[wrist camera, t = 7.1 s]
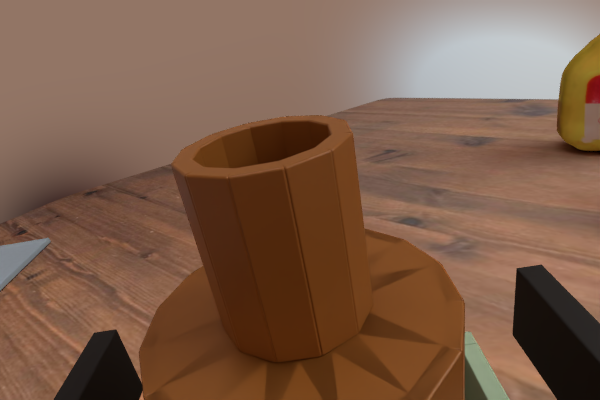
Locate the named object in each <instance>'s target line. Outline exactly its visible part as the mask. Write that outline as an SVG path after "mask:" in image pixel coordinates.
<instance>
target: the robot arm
mask: <svg viewBox="0 0 600 400" xmlns="http://www.w3.org/2000/svg"><path fill="white" fill-rule="evenodd" d="M513 336H514V337H515V339H516V340H517V342H518V343H519V345H520V346H521V347H522V349H523V350H524V352H525V353H526V355H527V356H528V358H529V359H530V361H531V362H532V363H533V365H534V366H535V368H536V369H537V371H538V372H539V374H540V375H541V377H542V378H543V379H544V381H545V382H546V384H547V385H548V387H549V388H550V390H551V391H552V393H553V394H554V395H555V397H556V398H557V400H600V323H599V322H598V321H597V320H596V319H595V318H594V317H593V316H592V315H591V314H590V313H589V312H588V311H587V310H586V309H585V308H584V307H583V306H582V305H581V304H580V303H579V302H578V301H577V300H576V299H575V298H574V297H573V296H572V295H571V294H570V293H569V292H568V291H567V290H566V289H565V288H564V287H563V286H562V285H561V284H560V283H559V282H558V281H557V280H556V279H555V278H554V277H553V276H552V275H551V274H550V273H549V272H548V271H547V270H546V269H545V268H544V267H543V266H542V265H536V266H530V267H523V268H517V273H516V289H515V305H514V320H513ZM142 391H143V388H142V383H141V381H140V379H139V377H138V375H137V373H136V370H135V368H134V366H133V364H132V362H131V360H130V358H129V356H128V353H127V351H126V349H125V347H124V345H123V343H122V341H121V339H120V336H119V334H118V332H117V330H110V331H103V332H97V333H94V334H93V336H92V337H91V339H90V340H89V342H88V344H87V345H86V347H85V349H84V350H83V352H82V354H81V355H80V357H79V359H78V360H77V362H76V364H75V365H74V367H73V369H72V370H71V372H70V373H69V375H68V377H67V378H66V380H65V382H64V383H63V385H62V387H61V388H60V390H59V392H58V393H57V395H56V397H55V398H54V400H139V398H140V396H141V393H142Z"/></svg>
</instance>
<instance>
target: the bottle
mask: <svg viewBox="0 0 600 400" xmlns="http://www.w3.org/2000/svg"><path fill="white" fill-rule="evenodd" d="M557 131H558V133H559V135H560V136H561V137H562V139H563V140H564V141H565V142H567V143H568V144H570V145H572V146H574V147H576V148H577V149H579V150H584V151H600V34H599V35H598V36H597V37H596V38H594V39H593V40H592V41H590V42H589V44H587V45H586V46H585V47H584V48H583V49H582V50H581V51H580V52H579V53H578V54H576V55H575V56H574V58H573V59H572V60H571V61H570V62H569V64H568V65H567V67H566V68H565V70H564V72H563V74H562V78H561V84H560V93H559V101H558V115H557Z"/></svg>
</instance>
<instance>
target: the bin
mask: <svg viewBox="0 0 600 400" xmlns="http://www.w3.org/2000/svg"><path fill="white" fill-rule="evenodd" d="M465 400H509V398H508V396H507V394H506V393H505V391H504V389H503V387H502V386H501V384H500V382H499V380H498V379H497V377H496V375H495V373H494V372H493V370H492V368H491V366H490V365H489V363H488V361H487V359H486V357H485V356H484V354H483V352H482V350H481V349H480V347H479V345H478V344H477V342H476V341H475V339H474V337H473V335H472V334H471V332H465Z"/></svg>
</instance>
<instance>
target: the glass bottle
mask: <svg viewBox="0 0 600 400" xmlns="http://www.w3.org/2000/svg"><path fill="white" fill-rule="evenodd" d="M171 167H172V170H173V173H174V177H175V180H176V183H177V186H178V189H179V192H180V195H181V198H182V201H183V204H184V207H185V210H186V213H187V217H188V220H189V223H190V226H191V229H192V232H193V235H194V238H195V241H196V244H197V247H198V250H199V253H200V257H201V260H202V263H203V266H202V267H201V268H199V269H197V270H196V271H194V272H193V273H191V275H189V276H188V277H187V278H186V279H185V280H184V281H183V282H182V283H181V284H180V285H179V286H178V287H177V288H176V289H175V290H174V291H173V292H172V293H171V294H170V296H169V297H168V298H167V299H166V300H165V301H164V302H163V303H162V304H161V305H160V306H159V307H158V309H157V311H156V313H155V315H154V317H153V320H152V322H151V324H150V326H149V329H148V331H147V333H146V336H145V338H144V340H143V342H142V345H141V347H140V351H139V358H140V368H141V378H142V388H143V398H144V400H465V303H464V300H463V298H462V297H461V295H460V293H459V292H458V290H457V289H456V287H455V285H454V284H453V282H452V280H451V279H450V277H449V275H448V274H447V272H446V270H445V269H444V267H443V265H442V264H441V263H440V262H438V261H437V260H435V259H434V258H432V257H431V256H429V255H428V254H426V253H425V252H423V251H422V250H420V249H419V248H417V247H416V246H414V245H412V244H411V243H409V242H408V241H406V240H404V239H401V238H397V237H394V236H390V235H387V234H383V233H379V232H376V231H372V230H369V229H365V228H364V222H363V214H362V206H361V197H360V189H359V181H358V172H357V164H356V156H355V147H354V139H353V133H352V131H351V129H350V127H349V125H348V124H347V122H346V121H345V120H341V119H336V118H331V117H327V116H322V115H320V116H319V115H310V116H286V117H279V118H274V119H269V120H262V121H257V122H251V123H248V124H243V125H240V126H237V127H233V128H230V129H227V130H224V131H220V132H217V133H214V134H212V135H209V136H207V137H205V138H203V139H201V140H199V141H197V142H195V143H193V144H191V145H189V146H187V147H185V148H184V149H182V150H181V152H180V153H179V154H178V156H177V157H176V158H175V159H174V161H173V162H172V163H171Z"/></svg>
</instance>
